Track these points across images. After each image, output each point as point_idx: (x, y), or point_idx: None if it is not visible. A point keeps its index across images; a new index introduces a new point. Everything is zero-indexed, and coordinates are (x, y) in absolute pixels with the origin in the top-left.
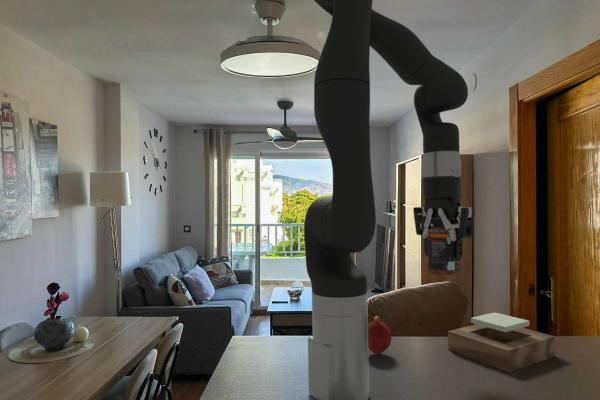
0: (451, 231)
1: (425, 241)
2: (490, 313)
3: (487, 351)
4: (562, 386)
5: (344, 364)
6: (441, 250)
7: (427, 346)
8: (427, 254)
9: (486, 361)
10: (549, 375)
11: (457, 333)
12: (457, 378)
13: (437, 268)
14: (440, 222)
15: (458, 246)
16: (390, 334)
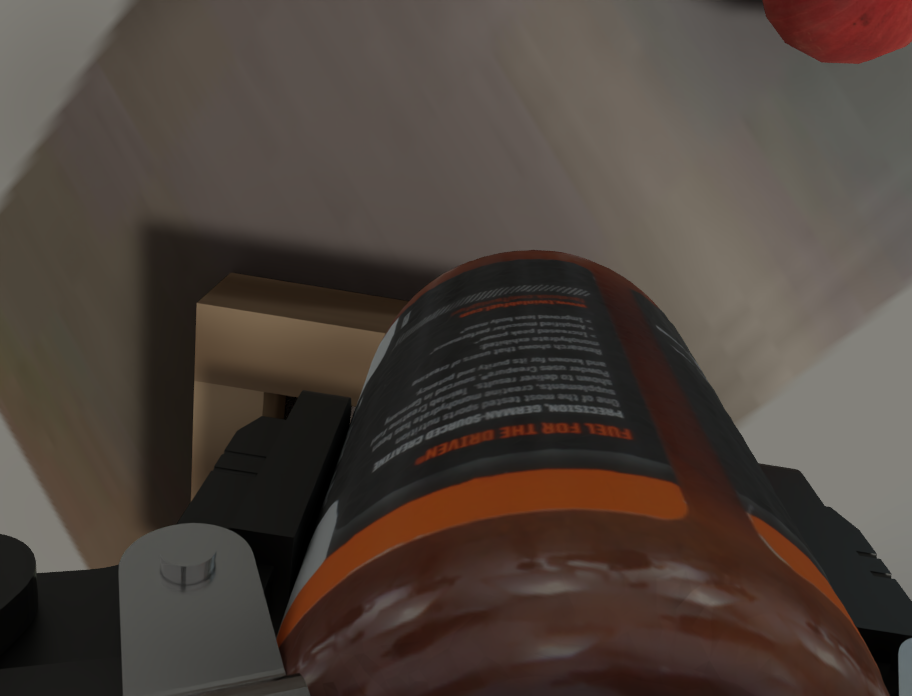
0: (189, 672)
1: (886, 603)
2: None
3: (325, 309)
4: (35, 290)
5: None
6: (433, 375)
7: (667, 295)
8: (763, 467)
9: (341, 293)
10: (122, 359)
11: None
12: (331, 27)
13: (497, 267)
14: None
15: (189, 512)
16: (782, 9)
